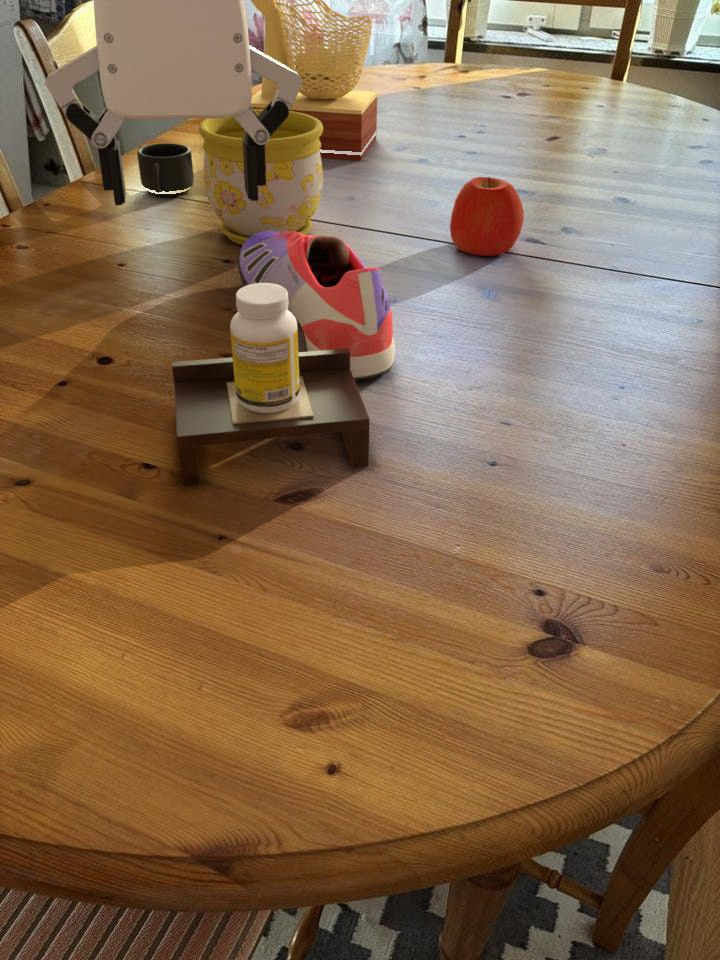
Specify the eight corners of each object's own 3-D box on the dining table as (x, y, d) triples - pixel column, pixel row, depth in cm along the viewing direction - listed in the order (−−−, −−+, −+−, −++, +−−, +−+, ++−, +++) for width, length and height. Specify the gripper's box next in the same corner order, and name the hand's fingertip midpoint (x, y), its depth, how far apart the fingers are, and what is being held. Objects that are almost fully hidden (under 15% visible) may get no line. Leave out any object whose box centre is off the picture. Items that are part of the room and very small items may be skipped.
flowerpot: (187, 245, 130) (175, 132, 121) (238, 208, 144) (231, 104, 134) (298, 262, 126) (295, 146, 116) (339, 222, 140) (340, 115, 130)
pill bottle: (261, 377, 87) (255, 273, 80) (312, 393, 84) (310, 288, 78) (222, 404, 83) (213, 297, 76) (275, 422, 80) (270, 313, 74)
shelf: (182, 485, 82) (174, 420, 77) (179, 423, 90) (171, 361, 86) (368, 466, 85) (370, 402, 80) (348, 408, 93) (348, 348, 89)
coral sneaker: (307, 263, 126) (306, 170, 118) (420, 377, 99) (428, 267, 91) (225, 275, 122) (218, 180, 114) (320, 398, 95) (319, 284, 87)
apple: (527, 242, 134) (536, 172, 128) (506, 266, 126) (515, 193, 120) (461, 230, 137) (467, 162, 131) (437, 253, 129) (442, 182, 123)
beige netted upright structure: (237, 151, 171) (224, -56, 150) (263, 128, 185) (254, -63, 164) (360, 161, 167) (363, -50, 146) (377, 137, 181) (383, -59, 160)
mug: (149, 183, 154) (144, 142, 150) (199, 184, 154) (195, 143, 149) (131, 205, 144) (125, 162, 140) (185, 207, 144) (180, 163, 140)
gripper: (291, -76, 59) (294, 179, 69) (25, -83, 55) (69, 185, 65) (309, -68, 53) (309, 210, 63) (12, -76, 50) (62, 218, 60)
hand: (186, 197), depth 64 cm, fingers open, 9 cm apart
